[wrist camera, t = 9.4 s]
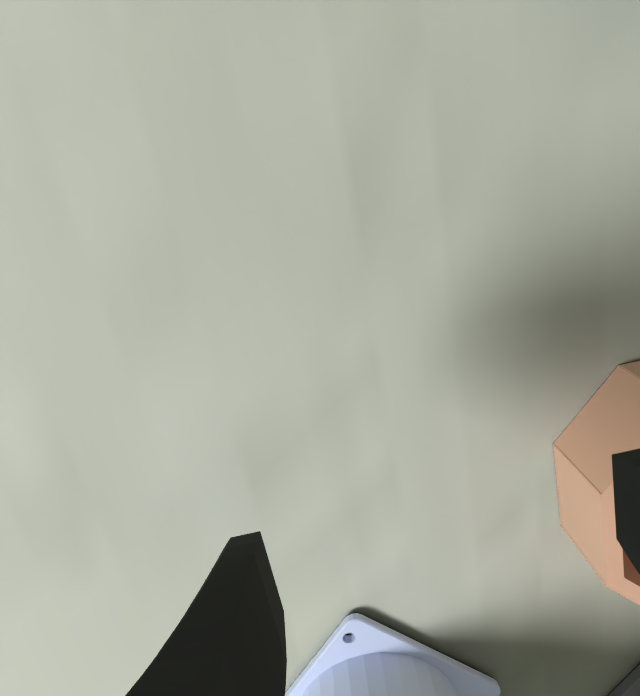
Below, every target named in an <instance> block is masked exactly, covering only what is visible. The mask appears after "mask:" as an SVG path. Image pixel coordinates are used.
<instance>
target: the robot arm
mask: <svg viewBox="0 0 640 696" xmlns="http://www.w3.org/2000/svg"><path fill="white" fill-rule="evenodd" d="M612 471H613V488H614V505H615V523H616V539H617V541H618V542H619V544H620V545H621V547H622V548H623V550H624V552H625V553H626V555H627V556H628V558H629V559H630V561H631V563H632V564H633V566H634V567H635V569H636V570H637V571H638V573H639V574H640V448H639V449H635V450H630V451H625V452H621V453H616V454H612ZM346 633H352V634H351V635H348V636H347V635H345V634H346ZM286 665H287V657H286V638H285V623H284V610H283V607H282V603H281V600H280V597H279V593H278V590H277V587H276V583H275V580H274V577H273V573H272V570H271V566H270V563H269V560H268V556H267V553H266V550H265V546H264V543H263V539H262V536H261V533H260V531H259V532H255V533H250V534H245V535H241V536H236V537H232V538H230V540H229V541H228V543H227V544H226V546H225V548H224V549H223V551H222V553H221V554H220V556H219V558H218V560H217V561H216V563H215V565H214V567H213V568H212V570H211V572H210V574H209V575H208V577H207V579H206V580H205V582H204V584H203V586H202V587H201V589H200V591H199V592H198V594H197V595H196V597H195V599H194V600H193V602H192V603H191V605H190V607H189V608H188V610H187V612H186V613H185V615H184V616H183V618H182V619H181V621H180V622H179V624H178V626H177V627H176V628H175V630H174V631H173V633H172V634H171V636H170V637H169V639H168V640H167V641H166V643H165V644H164V646H163V647H162V649H161V650H160V652H159V653H158V654H157V656H156V657H155V659H154V660H153V661H152V663H151V664H150V665H149V667H148V668H147V669H146V671H145V672H144V673H143V675H142V676H141V677H140V678H139V680H138V681H137V682H136V683H135V684H134V686H133V687H132V688H131V689H130V691H129V692H128V693H127V694H126V695H125V696H499V695H500V692H501V690H500V687H499V685H498V683H497V681H496V680H495V679H493V678H491V677H489V676H487V675H485V674H483V673H481V672H479V671H477V670H475V669H473V668H470V667H468V666H466V665H464V664H462V663H460V662H458V661H456V660H454V659H452V658H450V657H448V656H446V655H444V654H442V653H440V652H438V651H436V650H433V649H431V648H429V647H427V646H425V645H423V644H421V643H419V642H417V641H415V640H413V639H411V638H409V637H407V636H405V635H403V634H401V633H399V632H396V631H394V630H392V629H390V628H388V627H386V626H384V625H382V624H380V623H378V622H376V621H374V620H372V619H370V618H368V617H366V616H364V615H361V614H358V613H354V614H350V615H348V616H347V617H345V618H344V620H343V621H342V622H341V623H340V625H339V626H338V627H337V629H336V630H335V631H334V632H333V634H332V635H331V636H330V637H329V639H328V640H327V641H326V642H325V644H324V645H323V646H322V648H321V649H320V650H319V651H318V653H317V654H316V655H315V656H314V658H313V659H312V660H311V661H310V663H309V664H308V665H307V667H306V668H305V669H304V670H303V672H302V673H301V674H300V675H299V677H298V678H297V679H296V680H295V682H294V683H293V684H292V686H291V687H290V688H289V689H288V691H287V692H286V693H285V686H286Z"/></svg>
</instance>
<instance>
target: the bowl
mask: <svg viewBox="0 0 640 696" xmlns="http://www.w3.org/2000/svg"><path fill="white" fill-rule="evenodd" d="M553 448H554V458H555V469H556V480H557V490H558V501H559V511H560V522H561V527H562V528H563V530H564V531H565V532H566V534H567V535H568V536H569V538H570V539H571V540H572V542H573V543H574V544H575V546H576V547H577V548H578V550H579V551H580V552H581V554H582V555H583V556H584V558H585V559H586V560H587V562H588V563H589V564H590V566H591V567H592V568H593V570H594V571H595V572H596V574H597V575H598V576H599V578H600V579H601V580H602V582H603V583H604V584H605V586H606V587H607V588H609V589H611V590H613V591H615V592H617V593H618V594H620V595H622V596H624V597H626V598H627V599H629V600H631V601H633V602H634V603H636V604H638V605H640V574H639V573H638V571H637V570H636V569H635V567H634V566H633V564H632V563H631V561H630V559H629V558H628V556H627V555H626V553H625V552H624V550H623V548H622V547H621V545H620V544H619V542H618V541H617V539H616V523H615V505H614V488H613V471H612V454H616V453H621V452H625V451H630V450H635V449H639V448H640V361H636V362H631V363H627V364H622V365H618V366H617V368H616V369H615V370H614V371H613V372H612V374H611V375H610V376H609V377H608V378H607V380H606V381H605V382H604V383H603V384H602V386H601V387H600V388H599V389H598V390H597V392H596V393H595V394H594V395H593V397H592V398H591V399H590V400H589V401H588V403H587V404H586V405H585V406H584V407H583V409H582V410H581V411H580V412H579V413H578V415H577V416H576V417H575V418H574V419H573V421H572V422H571V423H570V424H569V426H568V427H567V428H566V429H565V430H564V432H563V433H562V434H561V435H560V436H559V438H558V439H557V440H556V441H555V442H554V443H553Z"/></svg>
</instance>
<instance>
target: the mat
mask: <svg viewBox="0 0 640 696" xmlns="http://www.w3.org/2000/svg"><path fill="white" fill-rule="evenodd" d="M608 696H640V664H639V665H638V666H637V667H636V668H635V669H634V670H633V671H632V672H631V673H630V674H629V675H628V676H627V677H626V678H625V679H624V680H623V681H622V682H621V683H620V684H619V685H618V686H617V687H616V688H615V689H614V690H613V691H612V692H611V693H610V694H609V695H608Z"/></svg>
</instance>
